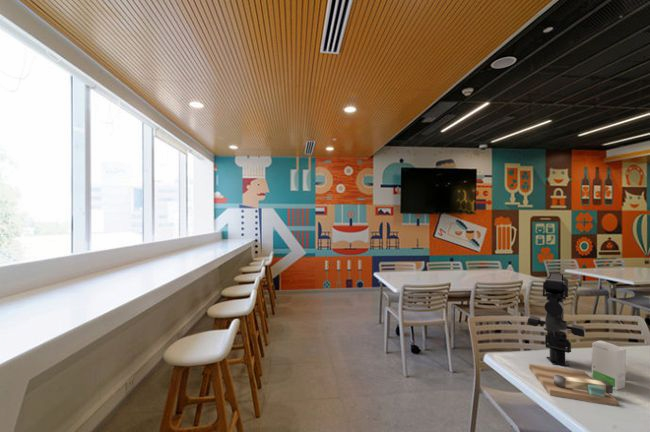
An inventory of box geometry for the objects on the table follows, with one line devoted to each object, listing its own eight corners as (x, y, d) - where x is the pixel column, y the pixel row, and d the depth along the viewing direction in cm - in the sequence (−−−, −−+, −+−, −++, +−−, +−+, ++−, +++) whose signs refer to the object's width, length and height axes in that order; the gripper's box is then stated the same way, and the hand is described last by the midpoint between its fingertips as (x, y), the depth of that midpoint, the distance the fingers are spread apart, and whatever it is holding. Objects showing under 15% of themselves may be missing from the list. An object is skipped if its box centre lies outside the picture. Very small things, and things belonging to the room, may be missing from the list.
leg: (557, 387, 106) (557, 379, 106) (551, 381, 110) (551, 374, 110) (613, 394, 102) (613, 385, 102) (606, 388, 105) (606, 380, 105)
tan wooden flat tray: (528, 368, 124) (528, 357, 124) (583, 375, 118) (583, 364, 118) (550, 395, 105) (549, 382, 105) (616, 406, 99) (616, 392, 99)
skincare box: (590, 379, 115) (590, 342, 115) (600, 376, 117) (599, 339, 118) (617, 391, 107) (617, 350, 107) (627, 387, 109) (626, 348, 110)
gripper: (524, 308, 120) (525, 344, 120) (583, 319, 107) (583, 360, 106) (529, 303, 128) (530, 336, 128) (584, 312, 114) (585, 350, 114)
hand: (555, 345), depth 119 cm, fingers closed
